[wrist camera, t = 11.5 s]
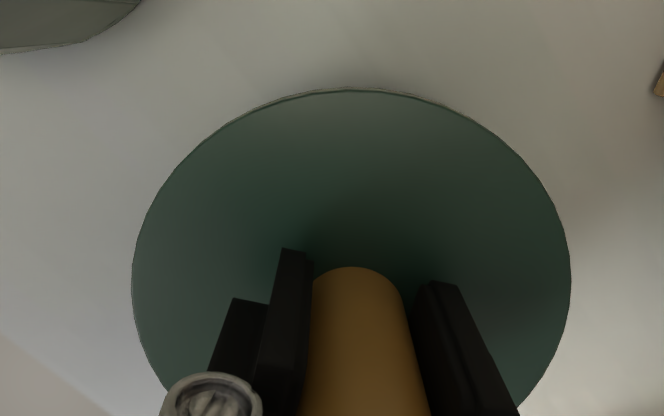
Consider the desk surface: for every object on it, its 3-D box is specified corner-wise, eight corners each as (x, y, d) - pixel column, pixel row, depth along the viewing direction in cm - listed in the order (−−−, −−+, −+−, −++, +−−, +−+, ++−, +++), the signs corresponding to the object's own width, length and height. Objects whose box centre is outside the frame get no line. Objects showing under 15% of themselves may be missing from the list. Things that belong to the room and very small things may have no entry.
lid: (174, 31, 11) (-12, 47, 5) (620, 142, 11) (915, 268, 6) (127, 407, 14) (-15, 678, 8) (473, 471, 15) (564, 758, 9)
